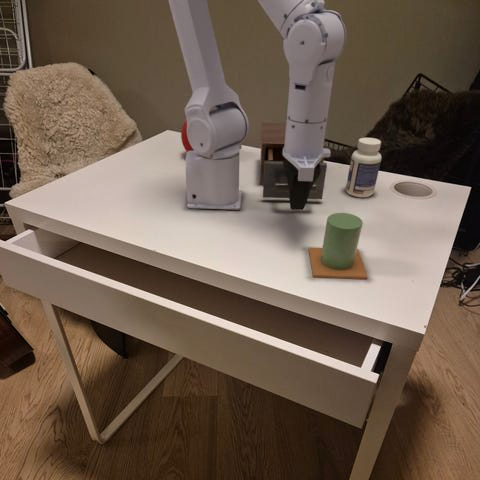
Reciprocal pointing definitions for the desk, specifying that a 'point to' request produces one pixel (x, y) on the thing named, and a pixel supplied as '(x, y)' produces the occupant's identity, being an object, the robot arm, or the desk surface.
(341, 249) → the tin
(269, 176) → the drawer
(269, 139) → the cabinet
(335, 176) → the desk surface
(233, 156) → the robot arm
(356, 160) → the pill bottle
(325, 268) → the coaster
